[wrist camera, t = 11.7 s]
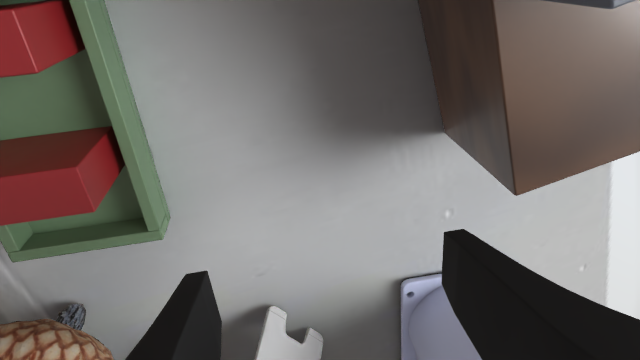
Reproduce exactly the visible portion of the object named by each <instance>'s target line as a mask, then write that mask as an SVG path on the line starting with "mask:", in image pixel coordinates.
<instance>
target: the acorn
mask: <svg viewBox="0 0 640 360" xmlns="http://www.w3.org/2000/svg"><path fill="white" fill-rule="evenodd" d="M85 315H86V310H85V308H84V307H83V304H71V305H69V307H68V308H66V309H64V310H63V311H62V312H59V314H58V319H57V320H56V321H54V320H51V319H39V320H35V321H16V322H12V323H9V324H0V360H114V359H113V357H112V354H111V351H110V350H109V349H108V348H106V347H105V346H104V344H102V343H101V342H100V341H99V340H97V339H96V338H94V337H92V336H90V335H88V334H87V333H85V332H83V331H81V329H82V327H83V325H84V321H85Z"/></svg>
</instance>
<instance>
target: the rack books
mask: <svg viewBox="0 0 640 360" xmlns="http://www.w3.org/2000/svg"><path fill="white" fill-rule="evenodd" d="M84 49H85V46H84V43H83V40H82V37H81V34H80V31H79V28H78V25H77V22H76V20H75V17H74V14H73V11H72V8H71V5H70V2H69V0H48V1H38V2H29V3H19V4H10V5H0V78H3V77H11V76H19V75H28V74H36V73H39V72H41V71H43V70H45V69H47V68H49V67H51V66H53V65H55V64H57V63H59V62H61V61H63V60H65V59H67V58H69V57H71V56H73V55H75V54H77V53H79V52H81V51H83V50H84Z"/></svg>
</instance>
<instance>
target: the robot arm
mask: <svg viewBox="0 0 640 360" xmlns="http://www.w3.org/2000/svg"><path fill="white" fill-rule="evenodd" d="M408 292H410V293H408ZM407 293H408V294H407ZM221 328H222V321H221V318H220V314H219V311H218V307H217V304H216V300H215V297H214V293H213V290H212V286H211V283H210V279H209V275H208V272H207V271H202V272H196V273H190V274H186V275H185V276H184V278H183V279H182V280H181V282H180V284H179V285H178V287H177V288H176V290H175V291H174V293H173V294H172V296H171V297H170V299H169V300H168V302H167V303H166V305H165V306H164V308H163V309H162V311H161V312H160V314H159V315H158V317H157V318H156V320H155V321H154V322H153V324H152V325H151V327H150V328H149V329H148V331H147V332H146V334H145V335H144V336H143V338H142V339H141V340H140V341H139V343H138V344H137V345H136V347H135V348H134V349H133V350H132V352H131V353H130V354H129V356H128V357H127V358H126V359H125V360H220V358H221ZM401 360H640V320H639V319H636V318H634V317H631V316H628V315H626V314H623V313H620V312H618V311H615V310H612V309H610V308H608V307H605V306H603V305H600V304H598V303H596V302H593V301H591V300H589V299H587V298H585V297H582V296H580V295H578V294H576V293H574V292H571V291H569V290H567V289H565V288H563V287H561V286H559V285H557V284H555V283H553V282H552V281H550V280H548V279H546V278H544V277H542V276H540V275H539V274H537V273H535V272H533V271H531V270H530V269H528V268H526V267H524V266H523V265H521V264H519V263H518V262H516V261H514V260H513V259H511V258H509V257H508V256H506V255H504V254H503V253H501V252H500V251H498V250H496V249H495V248H493V247H492V246H490V245H489V244H487V243H485V242H484V241H482V240H481V239H479V238H477V237H476V236H474V235H473V234H471V233H469V232H468V231H466V230H464V229H460V230H454V231H448V232H444V244H443V263H442V274H436V275H430V276H424V277H418V278H412V279H407V280H405V281H403V283H402V284H401Z"/></svg>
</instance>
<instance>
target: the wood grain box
mask: <svg viewBox="0 0 640 360" xmlns="http://www.w3.org/2000/svg"><path fill="white" fill-rule="evenodd" d="M418 3H419V8H420V13H421V18H422V23H423V28H424V33H425V37H426V42H427V47H428V52H429V57H430V62H431V67H432V72H433V77H434V82H435V87H436V92H437V97H438V101H439V106H440V111H441V116H442V121H443V126H444V131H445V133H446V134H447V135H448V136H449V137H450V138H451V139H452V140H453V141H455V142H456V143H457V144H458V145H459V146H460V147H461V148H462V149H464V150H465V151H466V152H467V153H468V154H469V155H470V156H471V157H472V158H474V159H475V160H476V161H477V162H478V163H479V164H480V165H481V166H483V167H484V168H485V169H486V170H487V171H488V172H489V173H490V174H492V175H493V176H494V177H495V178H496V179H497V180H498V181H499V182H501V183H502V184H503V185H504V186H505V187H506V188H507V189H508V190H510V191H511V192H512V193H513V194H514V195H516V196H517V195H520V194H523V193H526V192H528V191H531V190H534V189H537V188H539V187H542V186H545V185H548V184H550V183H553V182H556V181H559V180H562V179H564V178H567V177H570V176H573V175H575V174H578V173H581V172H584V171H586V170H589V169H592V168H595V167H598V166H600V165H603V164H606V163H609V162H611V161H614V160H617V159H619V158H622V157H625V156H628V155H631V154H634V153H636V152H639V151H640V0H636V1H633V2H630V3H628V4H625V5H622V6H619V7H617V8H614V9H604V8H597V7H589V6H581V5H573V4H565V3H558V2H550V1H542V0H418Z"/></svg>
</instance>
